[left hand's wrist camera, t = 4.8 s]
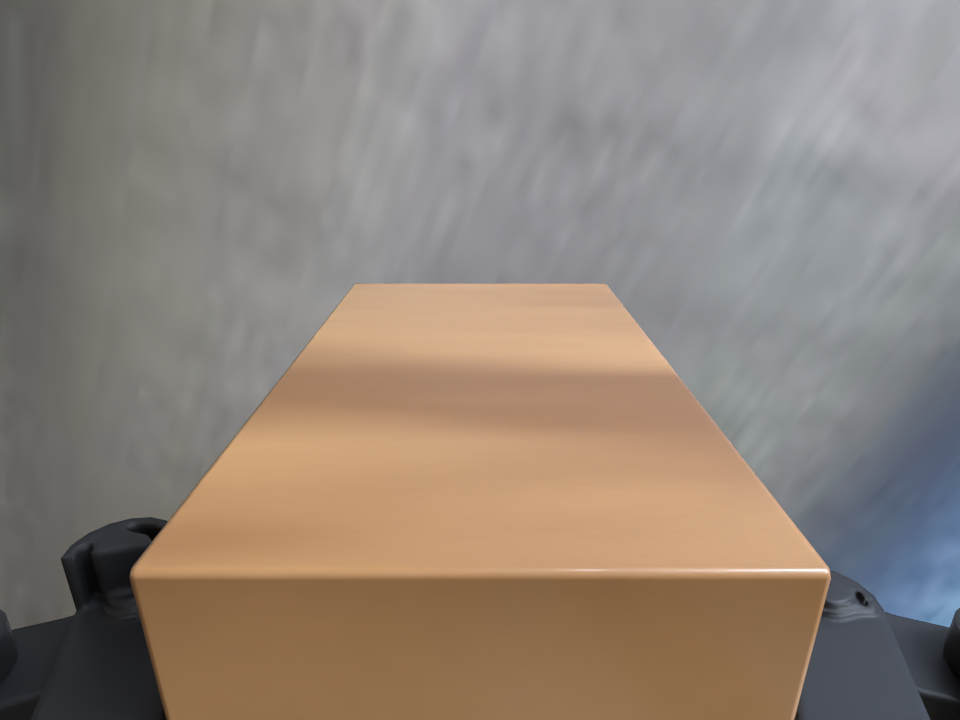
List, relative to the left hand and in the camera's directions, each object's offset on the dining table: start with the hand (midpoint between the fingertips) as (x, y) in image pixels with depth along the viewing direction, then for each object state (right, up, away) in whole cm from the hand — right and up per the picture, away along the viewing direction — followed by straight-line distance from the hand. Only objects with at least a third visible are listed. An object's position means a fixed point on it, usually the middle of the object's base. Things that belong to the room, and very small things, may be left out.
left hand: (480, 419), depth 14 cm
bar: (0, -9, +4) cm, 10 cm away
